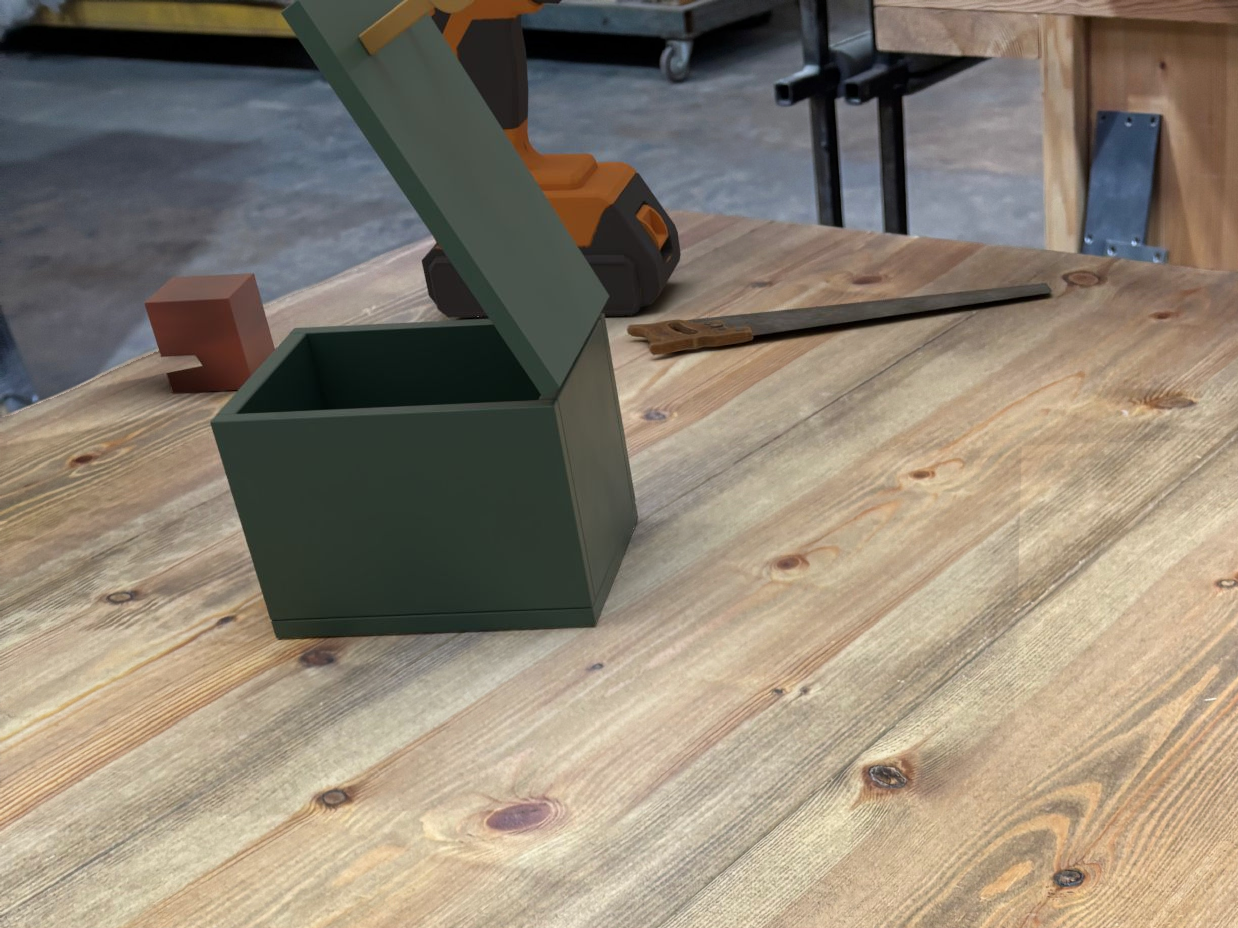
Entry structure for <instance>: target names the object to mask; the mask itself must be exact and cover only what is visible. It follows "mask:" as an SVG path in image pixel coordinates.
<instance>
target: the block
mask: <svg viewBox="0 0 1238 928" xmlns="http://www.w3.org/2000/svg"><path fill="white" fill-rule="evenodd" d="M144 308H145V310H146V313H147V317H148V321H149V323H150V326H151V329H152V332H153V335H154V339H155V343H156V345H157V349H158V352H159V355H160V357H161V358H164V357H165V358H166V357H184V356H185V357H186V356H187V357H188V356H195V357H196V358H197V360H198V361H199V363H200V366H199V365H198V366H195V367H189V368H184V369H179V370H173V371H168V372H166V373H165V374H166V377H167V380H168V383H169V387H170V390H171V392H172V393H173V394H181V393H203V392H223V391H224V392H226V391H228V392H229V391H238V390H239V389H240V388H241V387H242V386H243V385H244V383H245V382H246V381H247V380H248V379H249V378H250V377H251V376H252V375H253V373H254V372H255V371H256V370H257V369H258V368H259V367H260V366H261V365H262V364H263V362H264V361H265V360H266V359H267V358H268V357H269V356H270V355H271V354H272V352H273V351H274V350H275V349H276V348H275V343H274V339H273V336H272V333H271V329H270V326H269V322H268V318H267V315H266V312H265V307H264V305H263V301H262V297H261V293H260V289H259V286H258V282H257V279H256V275H255V273H253V272H250V273H231V274H230V273H229V274H213V275H212V274H210V275H208V274H207V275H194V276H193V275H192V276H173V277H171V278H170V279H169V280H168V281H167V282H165V284H163V285H162V286H161V287H159V289H158V290H157V291H155V292H154V293H153V294H152V295H151V296H150V297H149V298H147V300H145V301H144Z"/></svg>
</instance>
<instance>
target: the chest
mask: <svg viewBox="0 0 1238 928" xmlns="http://www.w3.org/2000/svg"><path fill="white" fill-rule="evenodd" d="M606 321H607V320H606V316H605V315H604V313H600V315H599V316H598V318H597V320H596V322H595V324H594V326H593V327H592V329H591V331H590V333H589V335H588V337H587V338H586V340H585V342H584V344H583V346H582V347H581V349H580V351H579V353H578V355H577V357H576V358H575V360H574V362H573V364H572V366H571V368H570V369H569V371H568V373H567V375H566V377H565V379H564V380H563V382H562V384H561V386H560V388H559V389H557V390H556V391H554V392H553V393H551V394H550V395H548V396H546V397H545V398H543V397H542V395H541V394H540V392H539V391H538V389H537V388H536V386H535V385H534V383H533V382H532V380H531V379H530V378H529V376H528V375H527V373H526V372H525V370H524V369H523V367H522V366H521V364H520V363H519V361H518V360H517V358H516V357H515V356H514V354H513V353H512V351H511V350H510V348H509V347H508V345H507V344H506V342H505V341H504V339H503V338H502V337H501V335H500V334H499V332H498V331H497V329H496V328H495V326H494V325H493V323H492V322H491V320H490V319H489V318H474V319H473V318H472V319H454V320H453V319H451V320H433V321H432V320H431V321H413V322H412V321H411V322H389V323H371V324H352V325H351V324H349V325H331V326H329V325H328V326H309V327H306V326H305V327H294V328H293V329H292V330H291V331H290V332H289V333H288V335H286V336H285V338H284V339H283V340H282V341H281V342H280V344H278V345H277V346H276V348H275V350H274V351H273V352H272V354H271V355H270V356H269V357H268V358H267V359H266V360H265V361H264V362H263V364H262V365H261V366H260V367H259V368H258V369H257V370H256V371H255V372H254V373H253V375H252V376H251V377H250V378H249V379H248V380H247V381H246V382H245V383H244V385H243V386H242V387H241V388H240V389H239V390H236V392H235V393H234V394H233V396H231V397H230V399H229V400H228V401H227V402H226V403H225V404H224V406H222V408H220V410H219V411H218V412H217V413H216V415H214V417H213V418H212V419H211V420H210V421H209V424H210V427H211V431H212V434H213V437H214V440H215V443H216V447H217V450H218V453H219V456H220V457H219V458H220V460H221V463H222V468H223V470H224V473H225V476H226V480H227V482H228V486H229V489H230V493H231V495H232V499H233V502H234V506H235V509H236V512H237V515H238V519H239V522H240V526H241V529H242V531H243V536H244V538H245V541H246V545H247V548H248V552H249V555H250V559H251V562H252V565H253V569H254V571H255V574H256V577H257V581H258V585H259V587H260V588H259V589H260V591H261V594H262V597H263V599H264V600H263V601H264V604H265V607H266V610H267V614H268V616H269V619H270V621H271V622H270V623H271V627H272V629H273V633H274V636H275V639H297V638H299V639H300V638H321V637H322V638H323V637H324V638H325V637H326V638H327V637H349V636H371V635H373V636H375V635H399V634H425V633H449V632H452V633H453V632H473V631H474V632H475V631H503V630H527V629H552V628H553V629H554V628H575V627H576V628H578V627H595V626H596V625H597V622H598V620H599V617H600V615H601V614H602V611H603V608H604V605H605V602H606V600H607V597H608V595H609V592H610V590H611V588H612V585H613V583H614V580H615V578H616V576H617V573H618V570H619V568H620V565H621V564H622V560H623V558H624V555H625V553H626V550H627V548H628V545H629V543H628V542H630V540H631V538H630V536H631V537H632V535H631V533H632V530H633V528H634V526H635V527H636V525H637V523H636V521H637V522H638V520H637V518H638V519H639V514H638V507H637V503H636V501H637V500H636V494H635V488H634V483H633V476H632V471H631V465H630V458H629V453H628V448H627V447H628V446H627V441H626V434H625V428H624V423H623V417H622V412H621V404H620V398H619V392H618V387H617V380H616V375H615V368H614V364H613V357H612V356H613V355H612V351H611V345H610V339H609V334H608V333H609V332H608V327H607V322H606ZM635 524H636V525H635ZM634 529H635V528H634ZM633 531H634V530H633ZM632 534H633V533H632ZM626 547H627V548H626Z"/></svg>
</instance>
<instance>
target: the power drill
mask: <svg viewBox="0 0 1238 928" xmlns="http://www.w3.org/2000/svg"><path fill="white" fill-rule="evenodd" d="M562 1H563V0H475V1H473V2H472V3H471V4H470V5H469V6H468V7H467V8H465V9H464V10H463V11H461V12H459V13H453V14H451V13H445V12H443V11H441V10H439V9H437V8H436V7H435V8H434V9H433V10H431V11H430V12H429V15H430V16H431V18H432V20H433V21H434V23H435V24H436V26H437V27H438V29H439V31H440V32H441V34H442V35H443V37H444V38H445V40H446V41H447V43H448V45H449V46H450V48H451V49H452V51H453V52H454V54H455V56H456V57H457V59H458V60H459V62H460V63H461V65H462V66H463V68H464V70H465V71H466V73H467V74H468V76H469V77H470V79H471V81H472V82H473V84H474V85H475V87H476V88H477V90H478V91H479V93H480V95H481V96H482V98H483V99H484V101H485V102H486V104H487V106H488V107H489V109H490V110H491V112H492V113H493V115H494V116H495V118H496V120H497V121H498V123H499V124H500V126H501V127H502V129H503V131H504V132H505V134H506V135H507V137H508V138H509V140H510V141H511V143H512V145H513V146H514V148H515V149H516V151H517V152H518V154H519V156H520V157H521V159H522V160H523V162H524V163H525V165H526V166H527V168H528V170H529V171H530V173H531V174H532V176H533V177H534V179H535V181H536V182H537V184H538V185H539V187H540V188H541V190H542V191H543V193H544V195H545V196H546V198H547V199H548V201H549V202H550V204H551V206H552V207H553V209H554V210H555V212H556V213H557V215H558V216H559V218H560V220H561V221H562V223H563V224H564V226H565V227H566V229H567V231H568V232H569V234H570V235H571V237H572V238H573V240H574V241H575V243H576V245H577V246H578V248H579V249H580V251H581V252H582V254H583V256H584V257H585V259H586V260H587V262H588V263H589V265H590V266H591V268H592V270H593V271H594V273H595V274H596V276H597V277H598V279H599V281H600V282H601V284H602V285H603V287H604V288H605V290H606V291H607V293H608V295H609V298H608V300H607V302H606V304H605V305H604V307H603V309H602V311H601V313H604V315H605V317H632V316H633V315H635V314H637V313H638V312H639V311H640V309H641V307H646V306H651V305H652V304H653V303H655V301H656V300H658V298H659V296H660V294H661V293H662V291H663V289H664V288H665V286H666V285H667V283H668V281H669V279H670V278H671V276H672V274H673V273H674V271H675V269H676V268H677V265H678V264H679V263H680V260H681V253H682V252H681V247H680V238H679V232H678V229H677V226H676V224H675V223H674V221H673V220H672V218H671V217H670V215H669V214H668V213H667V211H666V210H665V209H664V207H663V205H662V204H661V202H660V201H659V200H658V199H657V197H656V195H654V193H653V191H652V190H651V188H650V187H649V186H648V183H646V181H645V180H644V179H643V177H642V175H641V174H640V173H639V172H638V171H637V170H636V169H635V168H634V167H633V166H631V164H628V163H625V162H623V161H597V159H596V158H595V157H594V155H592V154H590V153H540V152H538V151H537V150H536V149H535V148H534V147H533V145H532V144H531V142H530V139H529V134H528V129H529V126H528V125H529V77H528V75H529V74H528V60H527V50H526V44H525V39H524V31H523V25H522V15H526V14H527V15H528V14H529V15H531V14H536V13H538V12H539V11H540V10H541V9H542V8H543V7H544V6H545V5H546V4H552V5H553V4H554V5H559V4H560V3H561V2H562ZM433 239H434V241H435V244H434V245H433V246H432V248H431V249H430V250H428V252H427V253H426V254H425V256H423V258H422V259H421V265H422V270H423V274H424V279H425V280H424V281H425V285H426V289H427V295H428V297H429V298H430V299H431V301H432V302H433V303H434V304H435V305H436V310H438V311H439V312H440V313H441V314H442V315H444V316H445V317H447V318H449V319H450V318H451V319H452V317H460V318H482V317H481V316H484V317H483V318H489V317H488V316H487V315H486V313H485V312H484V310H483V309H482V307H481V306H480V304H479V303H478V301H477V300H476V298H475V297H474V295H473V294H472V293H471V291H470V290H469V288H468V287H467V285H466V284H465V282H464V281H463V279H462V278H461V276H460V275H459V274H458V272H457V271H456V269H455V268H454V266H453V265H452V263H451V262H450V260H449V259H448V257H447V256H446V254H445V253H444V252H443V250H442V249H441V247H440V246H439V244H438V243H437V241H436V240H435V238H434V237H433ZM625 315H627V316H625ZM477 316H479V317H477Z"/></svg>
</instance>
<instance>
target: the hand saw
mask: <svg viewBox="0 0 1238 928" xmlns="http://www.w3.org/2000/svg"><path fill="white" fill-rule="evenodd" d="M1052 292H1053V290H1052V288H1051V287H1050V285H1049V284H1048V283H1047V282H1045V283H1044V282H1042V283H1034V284H1033V283H1032V284H1031V283H1029V284H1024V285H1023V284H1021V285H1015V286H1014V285H1013V286H1003V287H1002V286H1001V287H994V288H993V287H991V288H983V289H982V288H981V289H974V290H966V291H965V290H964V291H963V290H962V291H955V292H954V291H953V292H945V293H944V292H943V293H936V294H926V295H925V294H924V295H917V296H916V295H915V296H907V297H906V296H905V297H896V298H887V299H886V298H885V299H877V300H876V299H875V300H866V301H857V302H855V301H854V302H847V303H838V304H828V305H820V306H819V305H818V306H809V307H801V308H800V307H798V308H790V309H781V310H778V309H777V310H770V311H769V310H768V311H761V312H760V311H759V312H751V313H742V314H733V315H732V314H731V315H722V316H721V315H720V316H713V317H712V316H711V317H710V316H709V317H703V318H701V317H700V318H693V319H676V318H675V319H669V320H663V321H658V322H653V323H635V324H629V325H628V326H627V328H626V332H627V334H628V335H629V336H631V337H635V338H642V339H643V338H644V339H646V340H647V341H648V342H649V345H648V350H649V352H650V354H651V355H652V356H660V355H665V354H666V355H667V354H672V353H675V352H679V351H685V350H691V349H693V350H694V349H699V348H704V347H721V346H727V345H728V346H729V345H734V344H742V343H746V342H749V341H752V340H753V339H754V336H760V335H767V334H774V333H781V332H788V331H794V330H801V329H809V328H816V327H822V326H829V325H830V326H831V325H836V324H843V323H848V322H850V323H851V322H857V321H864V320H871V319H878V318H884V317H892V316H899V315H904V314H913V313H920V312H921V313H922V312H926V311H933V310H940V309H941V310H942V309H948V308H954V307H962V306H968V305H969V306H970V305H975V304H981V303H982V304H983V303H988V302H995V301H996V302H997V301H1004V300H1009V299H1016V298H1017V299H1018V298H1024V297H1030V296H1031V297H1032V296H1038V295H1044V294H1045V295H1046V294H1050V293H1052Z"/></svg>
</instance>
